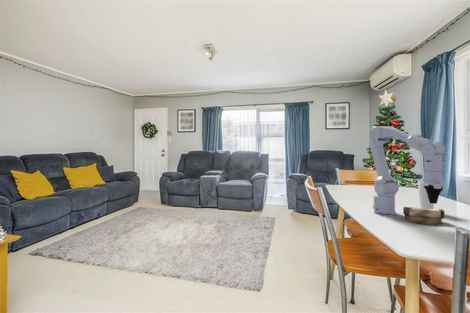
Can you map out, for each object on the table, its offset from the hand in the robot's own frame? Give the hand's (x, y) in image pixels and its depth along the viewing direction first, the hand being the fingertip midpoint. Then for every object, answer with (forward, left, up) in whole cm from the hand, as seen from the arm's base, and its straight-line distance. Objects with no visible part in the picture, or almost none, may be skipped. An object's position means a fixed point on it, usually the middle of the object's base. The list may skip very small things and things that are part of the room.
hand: (432, 203), depth 99 cm
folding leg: (-2, +6, -7) cm, 10 cm away
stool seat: (-2, +6, -9) cm, 11 cm away
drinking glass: (+3, +25, -10) cm, 27 cm away
